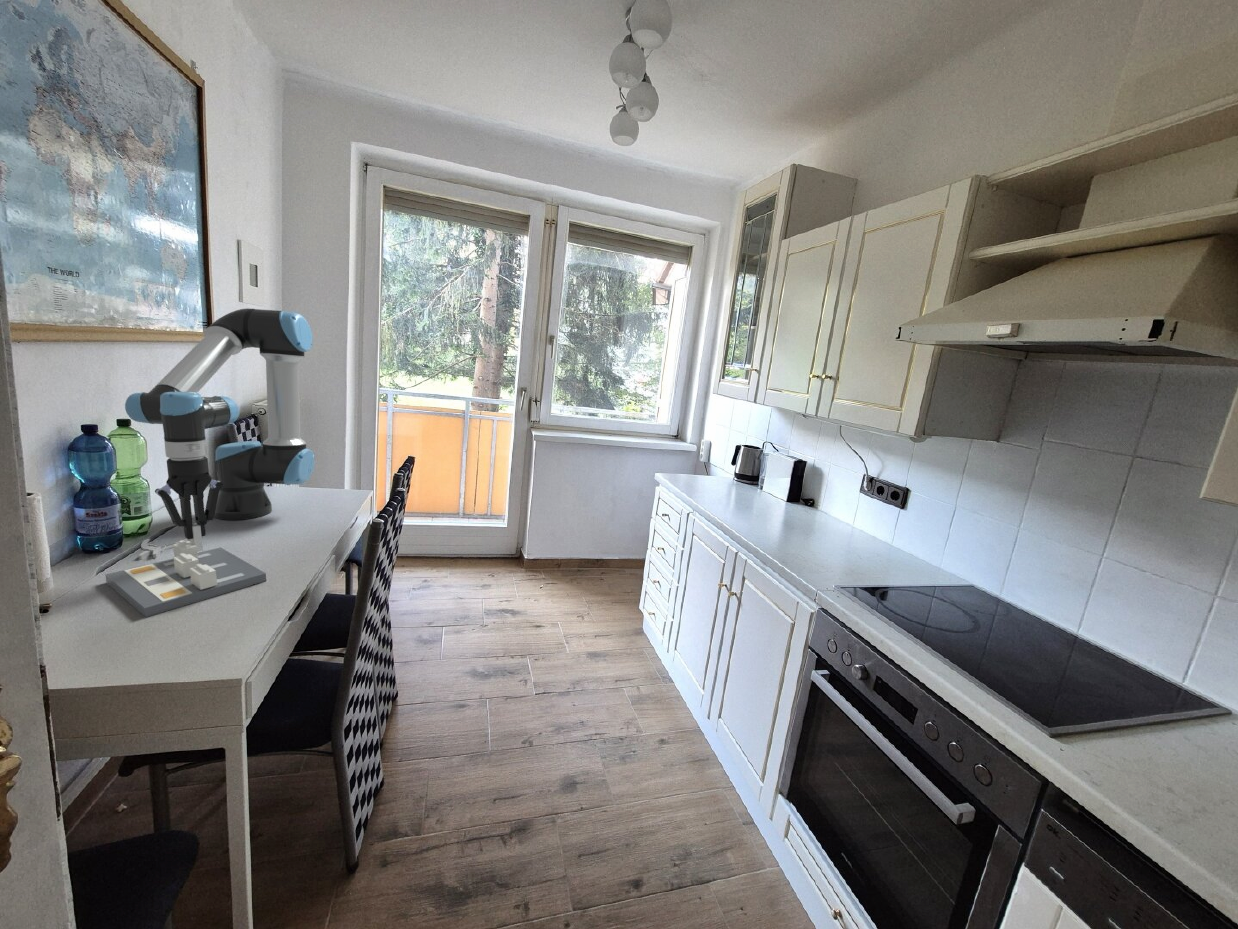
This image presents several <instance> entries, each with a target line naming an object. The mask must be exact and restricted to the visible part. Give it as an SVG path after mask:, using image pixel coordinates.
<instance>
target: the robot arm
mask: <svg viewBox="0 0 1238 929" xmlns="http://www.w3.org/2000/svg"><path fill="white" fill-rule="evenodd" d="M313 340H314V339H313V333H312V330H311V327H310V323H308V321H307V319H306V318H305V317H304V316H303V315H302V314H300V313H298V312H293V311H286V310H276V309H275V310H272V309H258V308H249V307H247V308H240V309H237V310H234V311H231V312H229V313H226V314H225V315H223V316H221V317H219V318H218V319H216V320H214V322H212V323H211V324H210V325H209V326H208V327H206V328H205V330H204V332H203V338H202V339H201V340H200V341H199V342H198V343H197V344H195V346H194V347H193V348H192V349H191V350H189V351H188V353H186V355H185V356H183V358H182V359H180V361H179V362H177V364H176V365H175V366H174V367H173V368H172V369H171V370H170V371H169V372H168V373H167V374H166V375H165V376H163V378H162V379H161V380H160V381H159V382H158V383H157V384H156V385H155V386H154V387H152V389H151V390H150V391H149V392H145V391H141V392H135V393H132V394H131V393H130V395H129V396H128V397H127V398H126V400H125V404H124V408H125V409H124V410H125V413H126V414H127V416H128V417H129V419H131V420H132V421H134V422H137V423H144V424H151V425H155V424H156V425H162V429H163V439H164V440H163V441H164V451H165V457H166V458H167V460H166V468H167V474H168V475H167V476H168V477H167V480H166V484H165V485H164V486H162V487H161V488H158V487H157V488H156V489H155V490H154V493H155V494H157V496H159V497H160V498H161V500H162V502H163V504H164V507H165V509H166V510H167V513H168V514H169V518H170V520H171V521H172V523H173V525H175V526H177V527H179V528H180V527H183V532H184V537H185V538H187V539H188V540H189V539H190V540H189V542H190V543H192V544H194V545H195V546H197V553H199V552H204V547H203V546H204V545H203V538H204V537H206V535H207V532H206V525H207V524H208V522H209V521H213V520H215V518H216V519H218V520H225V521H226V520H227V521H240V520H247V519H248V520H249V519H256V518H259V517H264V516H266V515H268V514H270V513H271V512H272V511H273V510H272V509H273V507H272V502H271V499H270V498H269V496H268V494H267V492H266V489H265V486H264V484H269V485H270V484H273V485H285V486H291V485H295V486H296V485H297V486H298V485H302V484H304V483H306V482H307V481H309V478H311V476H312V473H313V471H314V468H315V461H316V459H315V455H314V452H313V450H311V449H309V448H307V442H306V441H305V440H304V439H302V437H301V405H300V404H301V402H300V400H301V398H300V362H301V361H302V360H304V358H305V353H306V352H309V351H310V350H311V349H312V346H313ZM247 348H255V349H256V348H257V349H258V350H259V355H260V356H261V357H263V359H264V360H265V366H266V367H265V369H266V370H265V371H266V372H265V373H266V374H265V375H266V376H265V377H266V403H267V404H266V408H267V436H268V437H267V438H266V439H265V440H263V441H262V444H261V442H260V441H259V440H258V441H257V440H245V441H238V442H231V443H225V444H221V445H218V446H217V447H216V449H215V459H214V461H215V466H216V473H217V474H216V475H217V480H216V479H213V478H212V475H210V470H209V461H208V460H209V459H208V457H207V456H206V455H207V454H208V450H207V442H206V441H207V440H206V430H208V429H213V428H217V427H225V426H227V425H230V424H233V423H234V422H236V421H237V420H238V418H239V416H240V408H239V406H238V404H237V403H236V401H235V400H233V399H232V398H230V397H229V396H223V395H222V396H217V395H214V396H201V394H200V393H199V392H200V391H201V390H202V388H203V387H205V385H206V384H207V383H208V382H209V381H210V380H211V378H212V377H214V375H216V373H218V371H219V370H220V369H221V368H222V367H223V365H224V364H226V362H227V360H229V359H230V358H231V356H235V355H238V354H240V353H241V352H242V350H244V349H247ZM207 487H209V490H208V494H207V499H206V504H205V503H204V496H205V495H204V494H205V493H204V491H205V490H206V489H207ZM171 490H172V491H174V492H175V493H176V494H177V495H178V498H179V503H180V511H181V512H179V510H178V509H177V507H176V504H175V502H174V500H173V498H172V496H171V494H172V491H171ZM191 496H192V497H191ZM191 499H192V502H193V510H194V520H195V523H193V514H192V505H191ZM180 513H181V514H180ZM202 537H203V538H202Z"/></svg>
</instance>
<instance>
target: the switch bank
mask: <svg viewBox="0 0 1238 929" xmlns="http://www.w3.org/2000/svg"><path fill="white" fill-rule="evenodd" d="M197 553H198V560H199V564H202V565H205V564H206V565H208V566H209V567H211V568H213V569H214V570H216V577H217V585H216V586H212V587H209V588H205V589H202V590H201V589H199V588H198V587H196V586H195V585H193V584H192V583H191V576H189V577H185V578H183V577H182V576H181V575H179V574H178V573H176V572H175V566H174V558H169V559H166V560H162V561H158V562H154V563H153V562H152V563H148V564H145V565H140V566H136V567H131V568H128V569H124V570H119V571H114V572H109V573H107V574H105V580H106V583H107V585H108V586H110V587H111V588H112V590H114V589H115V590H114V591H115V592H116V593H118V594H119V595H120V596H121V597H122V598H124V599H125V600H126V601H127V602H128V603H129V604H130V605H132V606H133V607H134V608H135V609H136V610H137V611H138V612H139V613H140V614H142V615H143V616H144V617H145V618H147V617H148V618H149V617H152V616H153V615H154V616H155V615H158V614H161V613H165V612H167V611H171V610H175V609H178V608H182V607H185V606H187V605H192V604H195V603H198V602H202V601H204V600H207V599H212V598H214V597H218V596H222V595H224V594H228V593H231V592H234V591H238V590H242V589H244V588H248V587H252V586H254V585H253V584H255V585H258V584H261V583H265V582H267V573H266V572H264V571H262V570H261V569H259V568H257V567H256V566H255V565H252V564H251V563H249V562H247V561H245V560H244V559H242V558H240V557H238V556H236V555H235V554H232V552H229V551H228V550H226V549H225V548H222V547H218V548H213V549H209V550H203V551H198V552H197ZM257 583H258V584H257ZM251 585H252V586H251ZM237 589H238V590H237ZM217 595H218V596H217Z"/></svg>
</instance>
